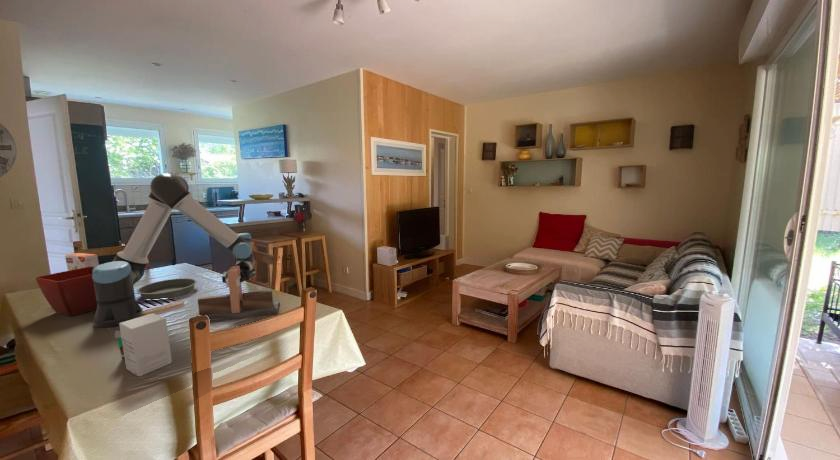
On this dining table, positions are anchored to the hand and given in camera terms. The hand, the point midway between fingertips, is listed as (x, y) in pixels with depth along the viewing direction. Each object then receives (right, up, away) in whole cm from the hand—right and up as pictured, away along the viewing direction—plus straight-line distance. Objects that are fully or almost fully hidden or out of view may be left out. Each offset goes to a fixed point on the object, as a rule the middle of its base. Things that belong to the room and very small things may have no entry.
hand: (232, 283), depth 141 cm
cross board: (-2, -14, +7) cm, 16 cm away
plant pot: (-74, -14, +13) cm, 77 cm away
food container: (-16, -19, -25) cm, 35 cm away
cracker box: (-91, -11, +33) cm, 97 cm away
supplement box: (-7, -20, -34) cm, 40 cm away
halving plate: (-2, -12, +7) cm, 14 cm away
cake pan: (-51, -11, +34) cm, 62 cm away
